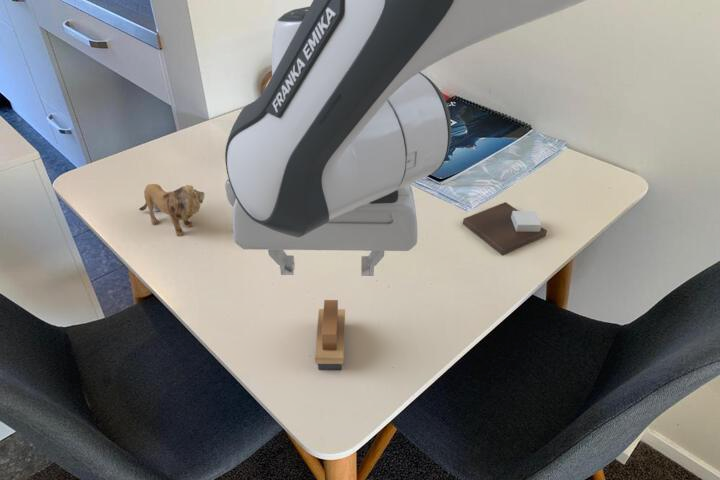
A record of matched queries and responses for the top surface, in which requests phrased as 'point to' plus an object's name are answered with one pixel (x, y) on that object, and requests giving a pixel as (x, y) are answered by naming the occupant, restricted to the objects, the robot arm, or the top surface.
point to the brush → (330, 337)
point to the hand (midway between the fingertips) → (327, 272)
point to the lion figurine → (173, 204)
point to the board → (500, 229)
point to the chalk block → (526, 221)
